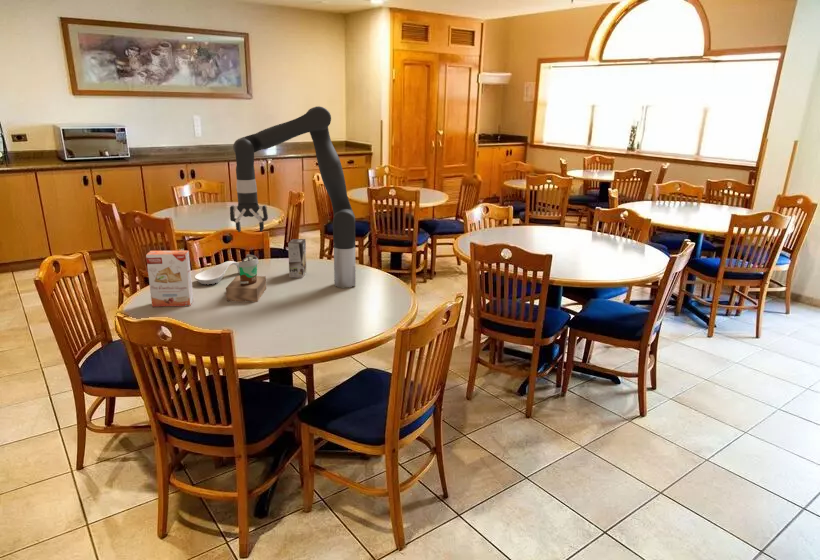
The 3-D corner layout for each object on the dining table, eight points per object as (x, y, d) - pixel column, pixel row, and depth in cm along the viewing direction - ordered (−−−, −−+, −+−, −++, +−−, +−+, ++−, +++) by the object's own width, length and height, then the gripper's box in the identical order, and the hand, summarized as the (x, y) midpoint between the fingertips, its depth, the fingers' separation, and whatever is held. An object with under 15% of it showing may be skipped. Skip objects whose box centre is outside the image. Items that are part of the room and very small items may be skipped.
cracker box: (151, 307, 203) (144, 254, 197) (156, 302, 209) (149, 250, 203) (190, 306, 205) (185, 253, 199) (194, 301, 211) (188, 249, 205)
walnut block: (266, 289, 228) (265, 276, 226) (257, 302, 213) (256, 288, 211) (237, 289, 227) (236, 275, 225) (226, 302, 212) (225, 288, 210)
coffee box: (303, 278, 243) (301, 243, 238) (289, 277, 243) (287, 242, 239) (307, 272, 252) (306, 238, 247) (293, 271, 252) (292, 238, 247)
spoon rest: (207, 289, 226) (205, 272, 224) (189, 284, 232) (187, 268, 230) (250, 275, 245) (249, 260, 243) (233, 271, 251) (232, 256, 249)
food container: (255, 287, 212) (254, 262, 209) (239, 286, 212) (238, 262, 209) (262, 277, 224) (261, 254, 221) (247, 277, 224) (246, 254, 221)
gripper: (266, 189, 215) (269, 229, 220) (230, 189, 214) (234, 229, 219) (264, 192, 208) (267, 233, 213) (226, 192, 207) (230, 233, 212)
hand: (250, 231), depth 216 cm, fingers open, 8 cm apart
